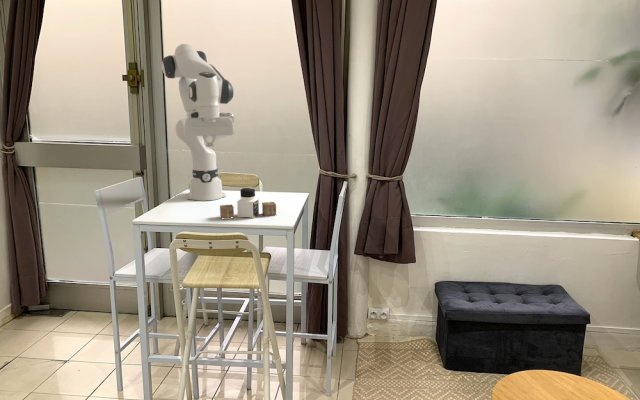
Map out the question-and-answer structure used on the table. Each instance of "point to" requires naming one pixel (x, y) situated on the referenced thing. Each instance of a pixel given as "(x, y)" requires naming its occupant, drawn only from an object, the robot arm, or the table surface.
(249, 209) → the medicine bottle
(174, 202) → the table surface
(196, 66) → the robot arm
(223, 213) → the walnut block one bar
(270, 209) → the walnut block two bars
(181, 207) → the table surface
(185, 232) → the table surface
